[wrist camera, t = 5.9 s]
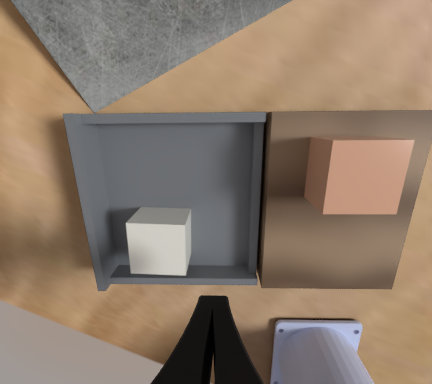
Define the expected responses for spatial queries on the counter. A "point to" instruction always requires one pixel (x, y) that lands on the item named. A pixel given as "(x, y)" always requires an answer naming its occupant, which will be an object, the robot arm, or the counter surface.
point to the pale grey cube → (159, 241)
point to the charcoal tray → (171, 188)
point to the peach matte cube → (357, 174)
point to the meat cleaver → (132, 37)
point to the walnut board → (331, 223)
